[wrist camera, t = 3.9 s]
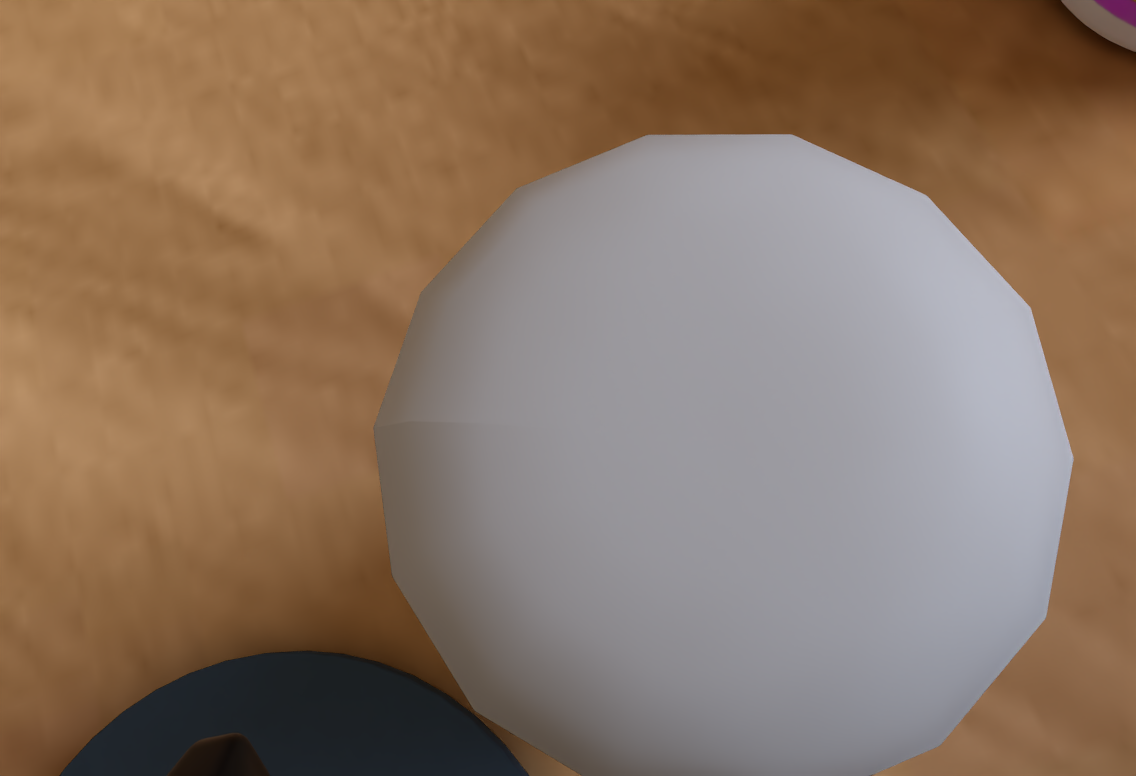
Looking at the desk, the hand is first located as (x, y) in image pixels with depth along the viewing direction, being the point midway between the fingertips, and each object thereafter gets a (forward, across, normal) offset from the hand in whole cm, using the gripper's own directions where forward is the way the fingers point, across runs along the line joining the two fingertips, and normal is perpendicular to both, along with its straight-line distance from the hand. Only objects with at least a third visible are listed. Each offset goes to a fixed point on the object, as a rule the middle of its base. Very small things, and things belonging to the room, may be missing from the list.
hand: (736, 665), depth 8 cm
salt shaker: (+8, 0, +6) cm, 10 cm away
